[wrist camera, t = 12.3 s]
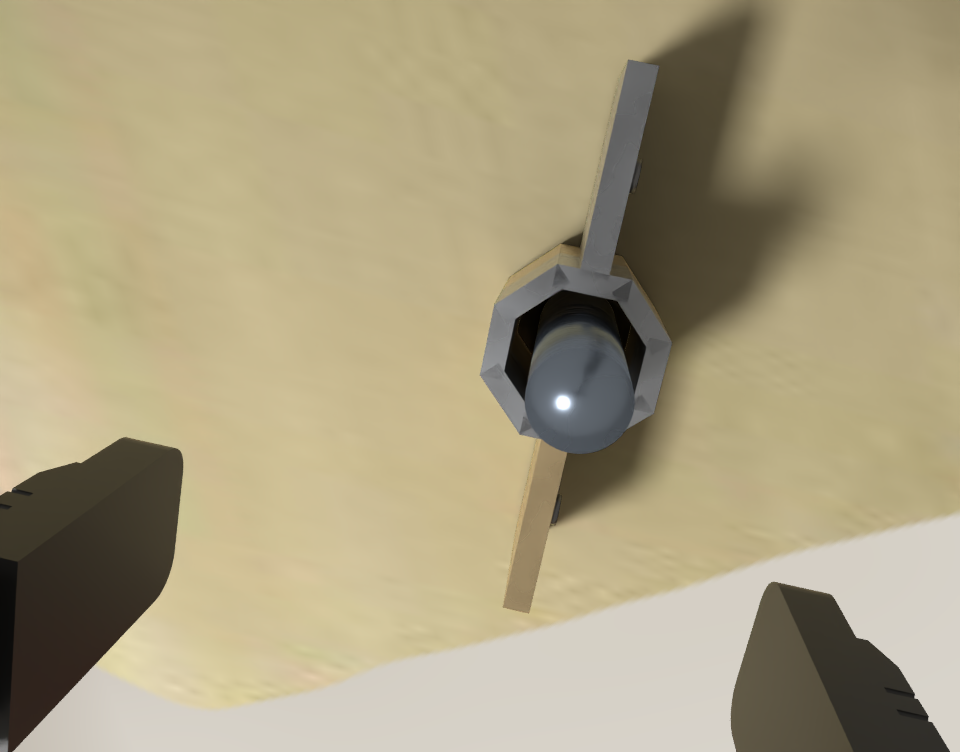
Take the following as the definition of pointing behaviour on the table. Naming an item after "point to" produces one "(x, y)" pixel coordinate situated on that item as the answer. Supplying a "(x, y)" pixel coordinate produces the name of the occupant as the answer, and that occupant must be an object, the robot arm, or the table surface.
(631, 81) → the hinge
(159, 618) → the table surface
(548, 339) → the pin
